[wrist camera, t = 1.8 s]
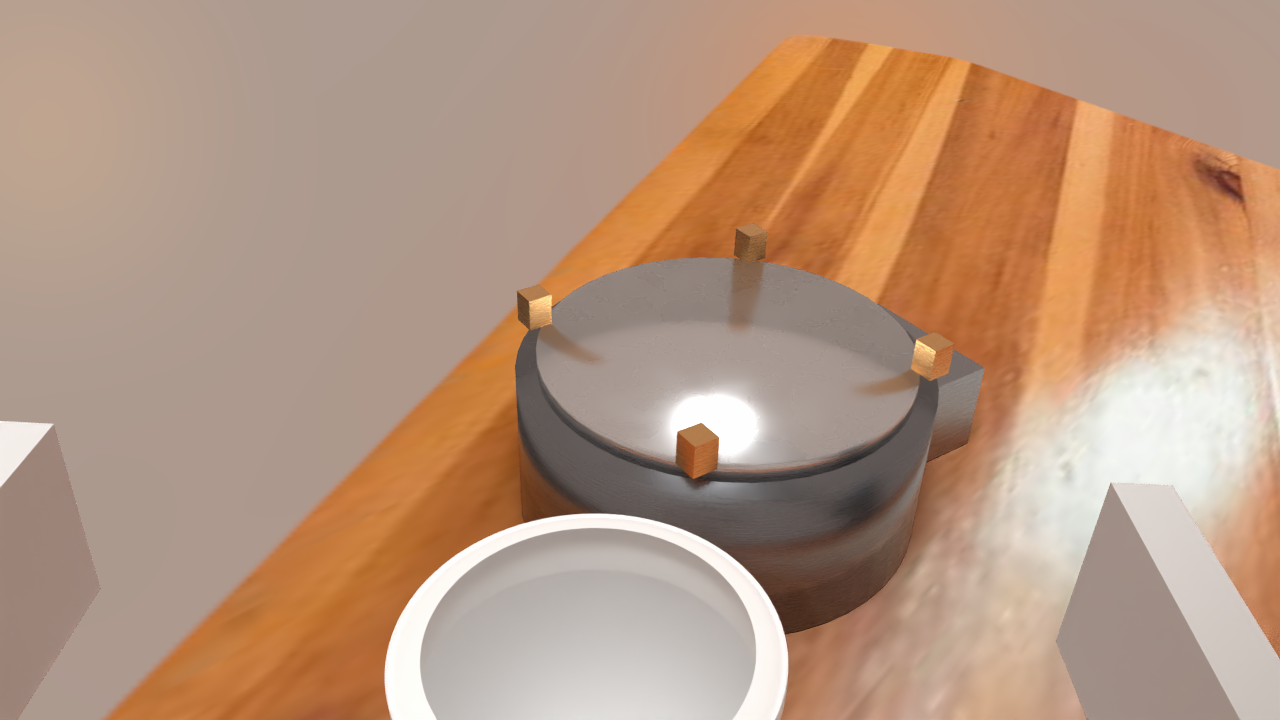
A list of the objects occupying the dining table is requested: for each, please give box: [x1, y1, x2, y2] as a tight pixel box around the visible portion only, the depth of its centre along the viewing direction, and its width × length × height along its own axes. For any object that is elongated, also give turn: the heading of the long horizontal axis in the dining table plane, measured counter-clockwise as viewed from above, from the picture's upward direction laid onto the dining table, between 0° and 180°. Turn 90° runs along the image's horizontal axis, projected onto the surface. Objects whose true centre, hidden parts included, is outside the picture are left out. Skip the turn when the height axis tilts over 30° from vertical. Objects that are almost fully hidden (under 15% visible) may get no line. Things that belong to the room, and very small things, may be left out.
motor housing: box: [515, 223, 984, 634], centre depth 55 cm, size 24×20×11 cm
